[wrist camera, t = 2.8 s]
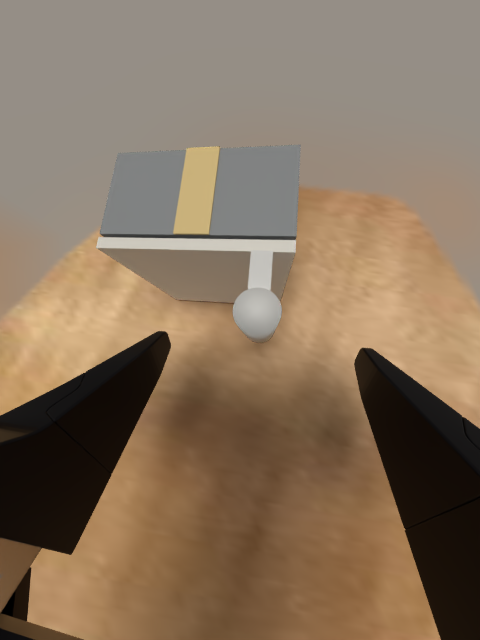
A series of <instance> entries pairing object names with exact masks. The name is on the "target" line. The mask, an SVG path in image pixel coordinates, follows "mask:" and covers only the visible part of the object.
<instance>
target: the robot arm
mask: <svg viewBox="0 0 480 640" xmlns="http://www.w3.org/2000/svg"><path fill="white" fill-rule="evenodd" d="M170 348H171V343H170V340H169V337H168V334H167V332H164V331H158V332H156V333H154V334H152V335H150V336H149V337H147V338H145V339H143V340H141V341H140V342H138V343H136V344H134V345H133V346H131V347H129V348H127V349H125V350H124V351H122V352H120V353H118V354H117V355H115V356H113V357H111V358H109V359H108V360H106V361H104V362H102V363H101V364H99V365H97V366H95V367H93V368H92V369H90V370H88V371H86V373H83V374H81V375H79V376H77V377H76V378H74V379H72V380H70V381H68V382H66V383H65V384H63V385H61V386H59V387H57V388H55V389H53V390H51V391H49V392H47V393H45V394H43V395H41V396H39V397H37V398H35V399H33V400H31V401H29V402H27V403H25V404H23V405H21V406H19V407H17V408H15V409H13V410H11V411H9V412H7V413H5V414H3V415H1V416H0V640H83V639H80V638H77V637H74V636H71V635H67V634H64V633H61V632H58V631H55V630H52V629H49V628H45V627H42V626H39V625H36V624H33V623H30V622H27V614H28V602H29V590H30V577H31V567H30V566H31V564H32V563H33V561H34V560H35V558H36V557H37V555H38V553H39V552H40V550H41V549H42V548H45V549H49V550H53V551H57V552H61V553H65V554H69V555H71V554H72V553H73V551H74V549H75V547H76V545H77V544H78V541H79V539H80V537H81V535H82V533H83V531H84V529H85V527H86V525H87V523H88V521H89V519H90V517H91V515H92V513H93V511H94V509H95V507H96V505H97V503H98V501H99V499H100V497H101V495H102V493H103V491H104V489H105V487H106V485H107V483H108V481H109V479H110V477H111V474H112V473H113V470H114V468H115V466H116V464H117V462H118V460H119V458H120V456H121V454H122V452H123V450H124V448H125V446H126V444H127V442H128V440H129V438H130V436H131V434H132V432H133V430H134V428H135V426H136V424H137V422H138V420H139V418H140V416H141V414H142V412H143V410H144V408H145V406H146V404H147V402H148V400H149V398H150V396H151V394H152V392H153V390H154V388H155V386H156V384H157V382H158V380H159V377H160V375H161V373H162V370H163V368H164V365H165V362H166V359H167V357H168V354H169V351H170ZM354 365H355V371H356V375H357V380H358V385H359V390H360V395H361V399H362V402H363V405H364V408H365V411H366V414H367V417H368V420H369V423H370V426H371V429H372V432H373V435H374V438H375V441H376V444H377V447H378V451H379V454H380V457H381V460H382V463H383V466H384V469H385V472H386V475H387V478H388V481H389V484H390V487H391V490H392V493H393V496H394V499H395V502H396V505H397V508H398V511H399V514H400V517H401V520H402V523H403V526H404V528H405V529H406V530H405V533H406V536H407V539H408V542H409V545H410V548H411V551H412V554H413V557H414V560H415V563H416V566H417V569H418V572H419V575H420V578H421V581H422V584H423V587H424V590H425V593H426V596H427V599H428V602H429V605H430V608H431V611H432V614H433V617H434V620H435V623H436V626H437V629H438V632H439V635H440V638H441V640H480V429H479V428H478V427H477V426H475V425H474V424H473V423H471V422H470V421H469V420H467V419H466V418H464V417H462V415H460V414H459V413H458V412H456V411H455V410H454V409H452V408H451V407H450V406H448V405H447V404H446V403H444V402H443V401H442V400H440V399H439V398H438V397H436V396H435V395H434V394H432V393H431V392H430V391H428V390H427V389H426V388H424V387H423V386H422V385H420V384H419V383H418V382H416V381H415V380H414V379H412V378H411V377H410V376H408V375H407V374H406V373H404V372H403V371H402V370H400V369H399V368H398V367H396V366H395V365H394V364H392V363H391V362H390V361H388V360H387V359H385V358H384V357H383V356H381V355H380V354H379V353H377V352H376V351H375V350H373V349H371V348H361V349H360V351H359V353H358V355H357V357H356V359H355V363H354Z"/></svg>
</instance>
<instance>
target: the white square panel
mask: <svg viewBox="0 0 480 640" xmlns="http://www.w3.org/2000/svg"><path fill="white" fill-rule="evenodd" d="M96 248H97V249H99V250H100V251H102V252H103V253H105V254H107V255H108V256H110V257H111V258H113V259H114V260H116V261H117V262H119V263H120V264H122V265H124V266H125V267H127V268H128V269H130V270H131V271H133V272H134V273H136V274H137V275H139V276H141V277H142V278H144V279H145V280H147V281H148V282H150V283H151V284H153V285H155V286H156V287H158V288H159V289H161V290H162V291H164V292H165V293H167V294H168V295H170V296H172V297H173V298H175V299H176V300H191V301H208V302H226V303H234V306H233V317H234V320H235V322H236V324H237V325H238V327H239V328H240V329H241V330H242V331H243V333H244V334H245V335H246V336H247V337H248V338H249V339H250V340H251V341H253V342H256V343H263V342H266V341H268V340H269V339H270V338H271V337H272V336H273V334H274V332H275V330H276V327H277V325H278V323H279V321H280V319H281V314H282V308H281V304H280V301H281V297H282V294H283V291H284V288H285V285H286V281H287V278H288V275H289V272H290V268H291V265H292V262H293V259H294V256H295V252H296V240H251V239H185V238H118V237H99V238H98V242H97V246H96Z"/></svg>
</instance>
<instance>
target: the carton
mask: <svg viewBox="0 0 480 640" xmlns="http://www.w3.org/2000/svg"><path fill="white" fill-rule="evenodd" d="M299 166H300V145H286V146H265V147H241V148H220V147H198V148H187V150H175V151H155V152H131V153H118V155H117V160H116V164H115V168H114V173H113V177H112V181H111V187H110V191H109V195H108V199H107V203H106V208H105V212H104V217H103V221H102V225H101V229H100V234H101V235H102V236H103V237H118V238H185V239H251V240H295V239H296V234H297V212H298V190H299Z"/></svg>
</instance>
